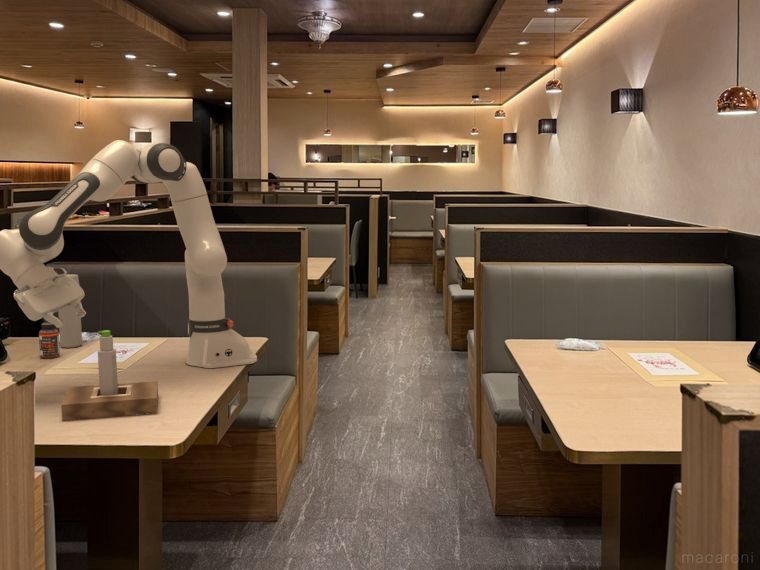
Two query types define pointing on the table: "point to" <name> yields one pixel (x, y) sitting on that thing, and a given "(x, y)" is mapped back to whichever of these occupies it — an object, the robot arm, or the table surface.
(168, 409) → the table surface
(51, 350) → the supplement bottle
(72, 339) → the water bottle
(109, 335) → the bottle
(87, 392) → the socket board
